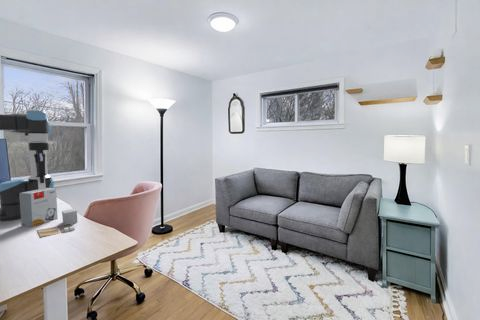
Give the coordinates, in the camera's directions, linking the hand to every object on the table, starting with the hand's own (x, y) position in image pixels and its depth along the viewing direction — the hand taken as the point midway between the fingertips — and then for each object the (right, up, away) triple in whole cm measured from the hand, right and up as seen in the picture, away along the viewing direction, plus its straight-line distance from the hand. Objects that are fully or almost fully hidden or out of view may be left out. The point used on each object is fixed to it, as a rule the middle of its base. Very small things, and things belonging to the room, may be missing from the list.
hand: (42, 189), depth 121 cm
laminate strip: (+5, -24, +9) cm, 26 cm away
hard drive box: (-17, -23, +19) cm, 34 cm away
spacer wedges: (+9, -23, +6) cm, 25 cm away
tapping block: (+1, -23, +19) cm, 29 cm away
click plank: (0, -24, +4) cm, 24 cm away
